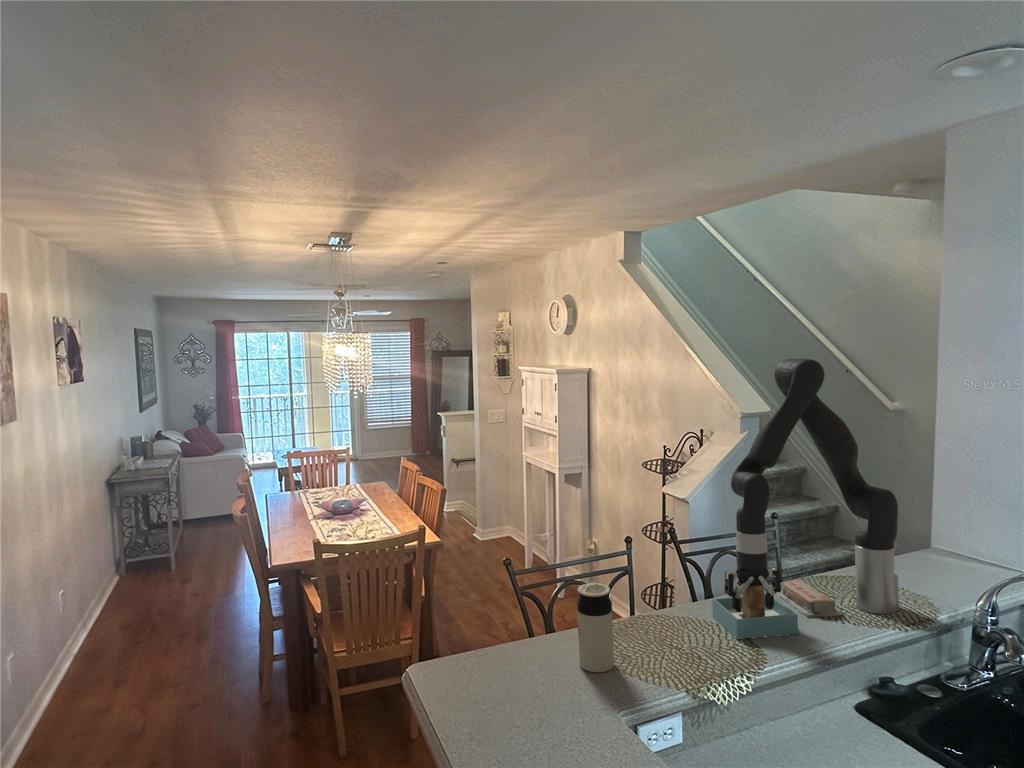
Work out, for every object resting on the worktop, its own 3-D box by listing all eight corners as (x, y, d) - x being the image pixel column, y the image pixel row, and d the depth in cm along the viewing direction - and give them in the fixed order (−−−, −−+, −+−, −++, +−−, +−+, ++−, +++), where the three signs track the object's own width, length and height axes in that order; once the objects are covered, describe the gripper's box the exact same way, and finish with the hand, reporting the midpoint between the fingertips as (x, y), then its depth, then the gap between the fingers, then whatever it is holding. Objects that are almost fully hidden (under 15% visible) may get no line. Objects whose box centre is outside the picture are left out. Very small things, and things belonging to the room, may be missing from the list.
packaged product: (842, 599, 163) (806, 601, 163) (843, 617, 163) (807, 619, 163) (806, 576, 181) (773, 578, 181) (806, 592, 181) (774, 594, 181)
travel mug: (619, 661, 144) (616, 585, 143) (606, 676, 137) (603, 597, 136) (587, 654, 148) (585, 580, 147) (573, 669, 141) (570, 591, 140)
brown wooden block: (757, 621, 162) (756, 580, 161) (765, 628, 158) (764, 585, 157) (743, 622, 161) (742, 581, 161) (750, 629, 157) (749, 587, 157)
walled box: (769, 612, 167) (768, 594, 167) (798, 634, 153) (797, 614, 153) (712, 616, 166) (712, 598, 166) (737, 639, 152) (736, 620, 152)
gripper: (770, 542, 163) (771, 602, 164) (718, 546, 162) (720, 606, 162) (785, 550, 156) (787, 613, 156) (731, 554, 154) (733, 618, 155)
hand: (753, 609), depth 159 cm, fingers open, 8 cm apart
